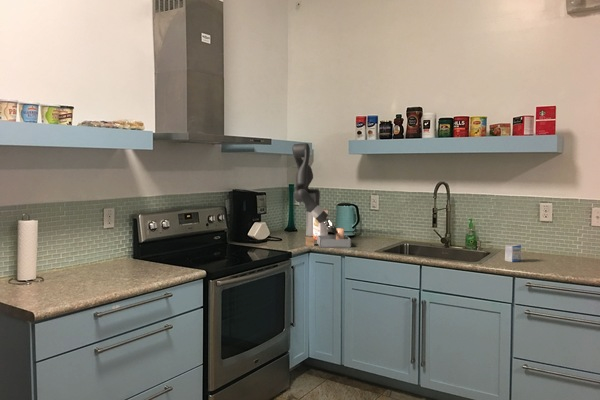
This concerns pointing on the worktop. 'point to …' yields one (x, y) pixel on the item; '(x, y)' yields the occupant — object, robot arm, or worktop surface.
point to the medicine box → (513, 253)
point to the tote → (333, 242)
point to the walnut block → (309, 241)
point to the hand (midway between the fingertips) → (337, 232)
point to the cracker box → (319, 228)
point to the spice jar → (340, 233)
